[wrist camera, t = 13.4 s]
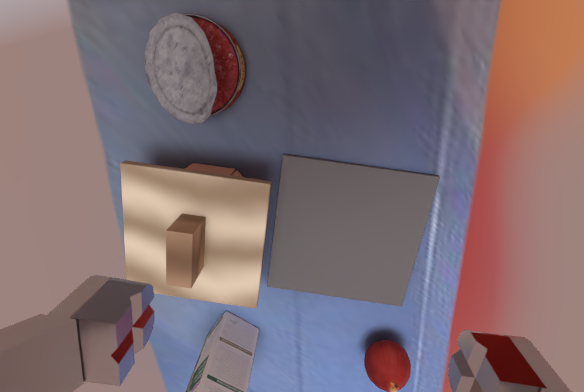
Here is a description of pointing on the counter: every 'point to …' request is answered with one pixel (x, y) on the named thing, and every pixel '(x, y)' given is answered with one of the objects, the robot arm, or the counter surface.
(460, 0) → the counter surface
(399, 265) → the mat
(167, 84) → the canned food
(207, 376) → the syrup box
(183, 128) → the counter surface
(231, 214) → the lid
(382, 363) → the onion
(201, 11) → the counter surface
